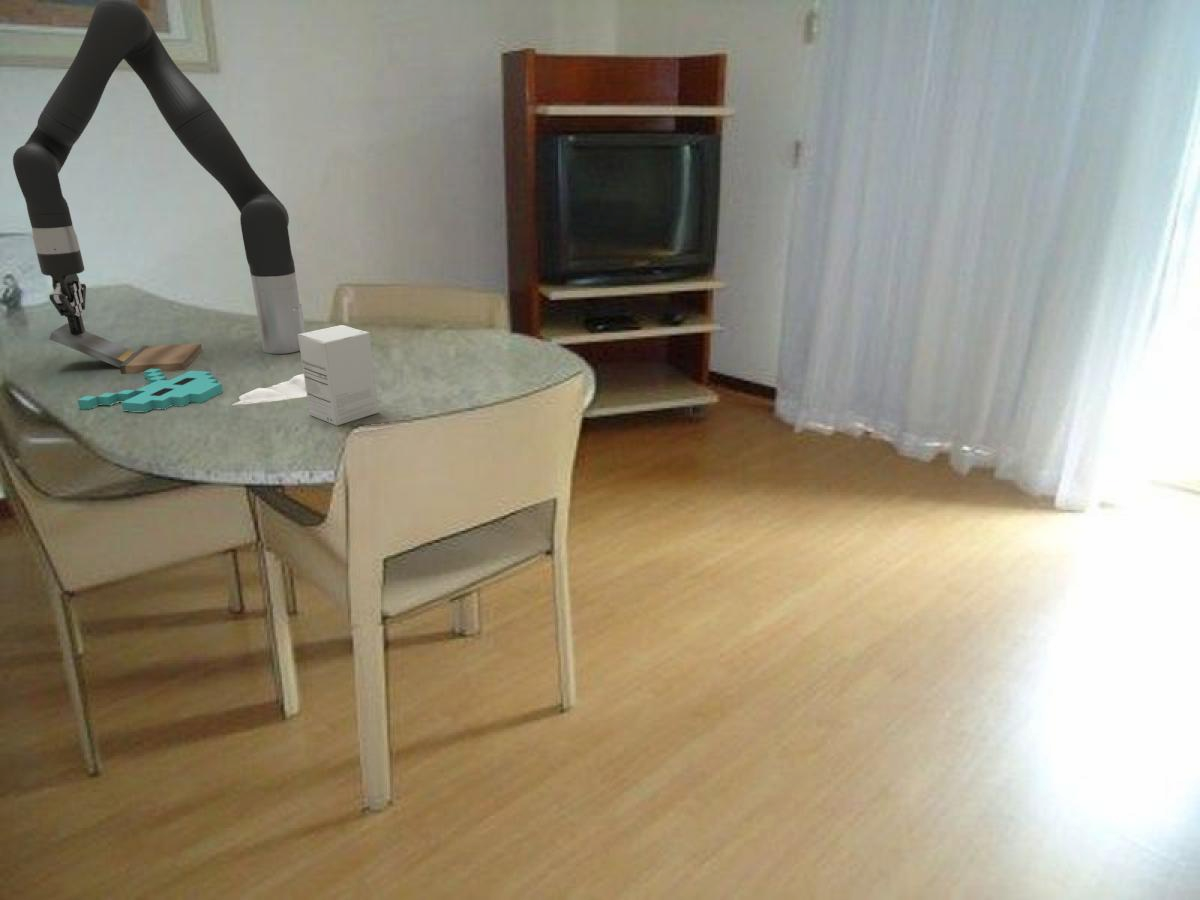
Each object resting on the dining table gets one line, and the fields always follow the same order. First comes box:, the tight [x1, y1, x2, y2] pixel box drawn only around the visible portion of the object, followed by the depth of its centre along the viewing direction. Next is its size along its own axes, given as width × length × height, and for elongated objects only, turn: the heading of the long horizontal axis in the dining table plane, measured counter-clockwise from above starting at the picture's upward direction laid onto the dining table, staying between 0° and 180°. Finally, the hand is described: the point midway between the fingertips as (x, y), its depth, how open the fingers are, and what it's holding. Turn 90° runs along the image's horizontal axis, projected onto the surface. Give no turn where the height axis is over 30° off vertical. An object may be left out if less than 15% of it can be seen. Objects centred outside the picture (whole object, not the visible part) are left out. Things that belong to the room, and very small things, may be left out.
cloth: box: [230, 373, 307, 407], centre depth 161 cm, size 26×14×2 cm, turn 137°
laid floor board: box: [119, 343, 203, 375], centre depth 178 cm, size 12×16×2 cm
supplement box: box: [298, 324, 380, 427], centre depth 145 cm, size 9×9×15 cm
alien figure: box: [77, 369, 224, 412], centre depth 157 cm, size 20×2×20 cm
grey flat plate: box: [48, 322, 136, 369], centre depth 174 cm, size 14×8×2 cm, turn 102°
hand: (78, 333), depth 173 cm, fingers closed
